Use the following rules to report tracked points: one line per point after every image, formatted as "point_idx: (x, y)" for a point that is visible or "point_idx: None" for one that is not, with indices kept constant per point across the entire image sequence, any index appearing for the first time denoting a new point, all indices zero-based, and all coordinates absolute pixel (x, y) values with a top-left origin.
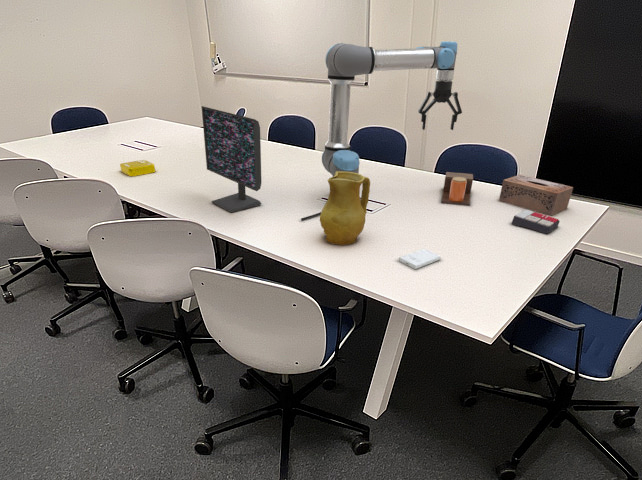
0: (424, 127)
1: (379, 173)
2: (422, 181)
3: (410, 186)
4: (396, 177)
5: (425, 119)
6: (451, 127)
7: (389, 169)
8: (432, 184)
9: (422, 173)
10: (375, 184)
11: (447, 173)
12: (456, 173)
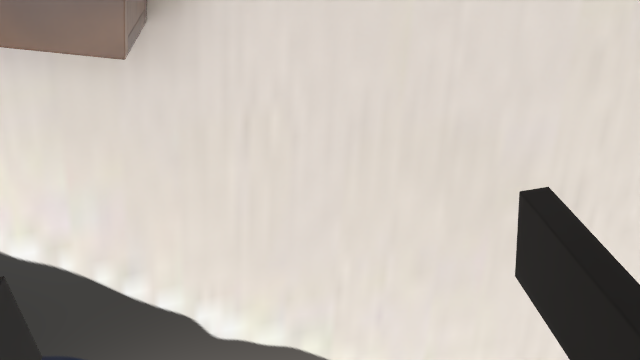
0: (546, 211)
1: None
2: (299, 162)
3: (392, 29)
4: (464, 211)
5: (633, 310)
6: (4, 332)
7: (484, 348)
8: (231, 107)
9: (293, 320)
10: (632, 31)
11: (109, 8)
12: (23, 23)
